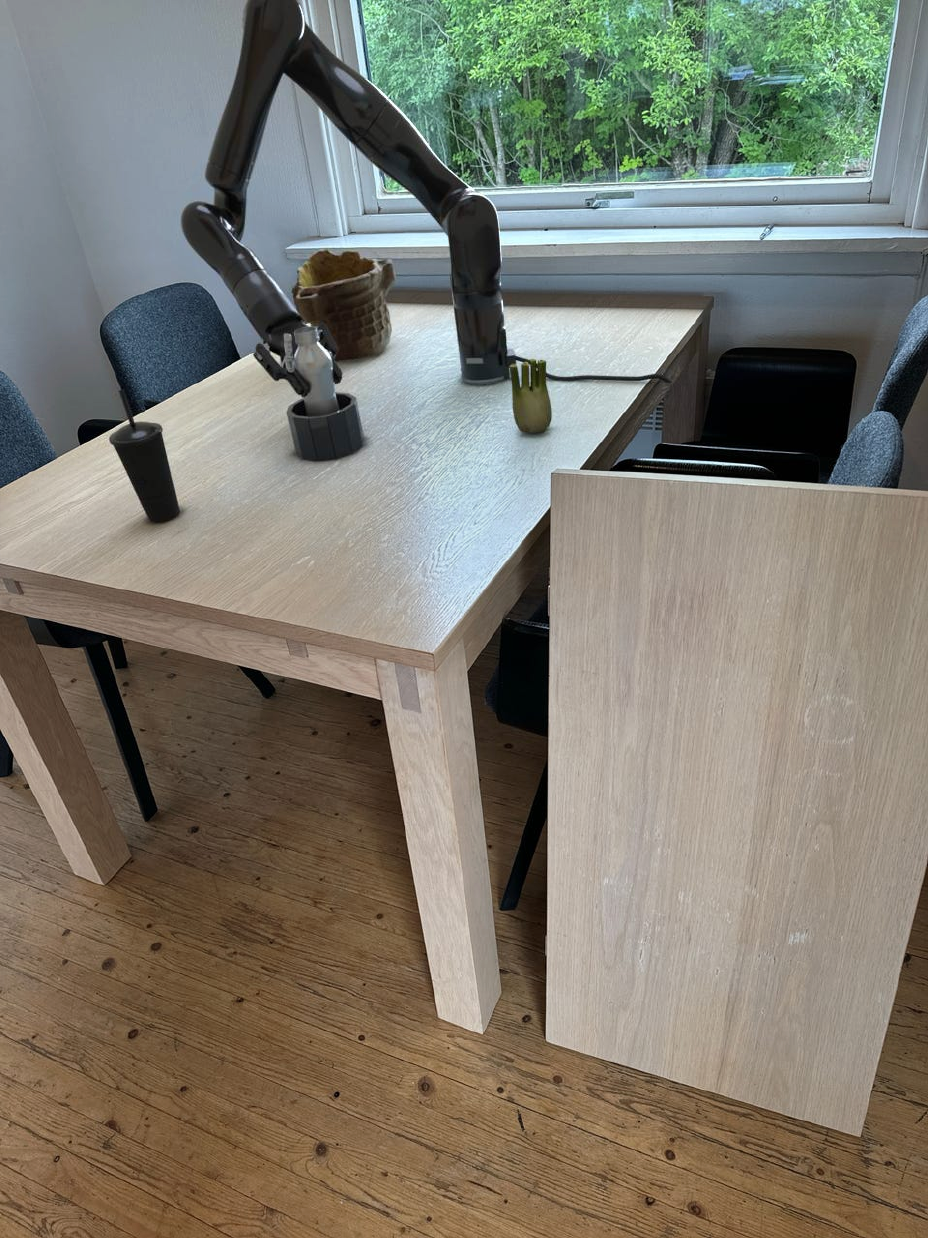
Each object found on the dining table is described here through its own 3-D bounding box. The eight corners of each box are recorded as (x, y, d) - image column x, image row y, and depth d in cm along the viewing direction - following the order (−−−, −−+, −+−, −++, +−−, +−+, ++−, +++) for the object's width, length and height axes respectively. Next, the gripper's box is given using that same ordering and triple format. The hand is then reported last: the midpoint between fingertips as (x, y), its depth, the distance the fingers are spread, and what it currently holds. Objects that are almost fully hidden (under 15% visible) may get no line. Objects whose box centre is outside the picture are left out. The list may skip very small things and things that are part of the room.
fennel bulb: (513, 436, 145) (506, 365, 138) (522, 424, 148) (516, 355, 142) (546, 437, 143) (541, 365, 136) (555, 426, 146) (550, 355, 140)
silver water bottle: (343, 453, 147) (318, 334, 136) (305, 454, 149) (278, 337, 138) (354, 438, 152) (331, 322, 141) (318, 439, 154) (293, 324, 143)
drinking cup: (145, 507, 138) (101, 385, 127) (192, 501, 138) (153, 378, 127) (134, 530, 132) (87, 403, 121) (184, 523, 132) (141, 395, 121)
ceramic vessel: (400, 329, 175) (309, 231, 169) (332, 402, 190) (245, 314, 183) (437, 296, 192) (355, 205, 186) (371, 365, 207) (294, 283, 201)
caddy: (366, 429, 155) (358, 388, 151) (360, 456, 146) (352, 413, 141) (302, 437, 156) (292, 396, 152) (292, 464, 146) (282, 421, 142)
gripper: (233, 303, 137) (292, 388, 136) (307, 280, 145) (364, 360, 144) (225, 332, 144) (282, 414, 143) (296, 309, 151) (350, 386, 150)
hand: (323, 387), depth 143 cm, fingers closed on silver water bottle, 6 cm apart
